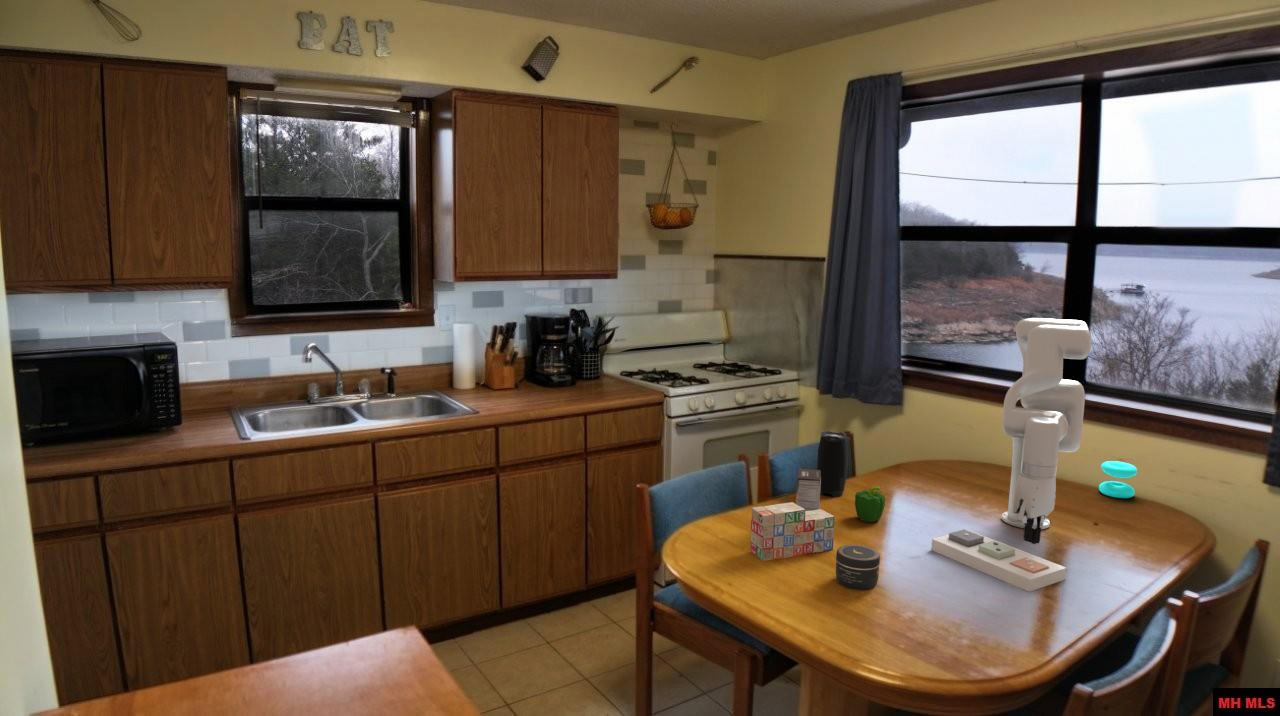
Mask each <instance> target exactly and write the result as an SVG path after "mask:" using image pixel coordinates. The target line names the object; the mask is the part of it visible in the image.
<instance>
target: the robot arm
mask: <svg viewBox="0 0 1280 716" xmlns="http://www.w3.org/2000/svg"><path fill="white" fill-rule="evenodd" d="M1015 336H1016V340H1017V345H1018V348H1019V350H1020V354H1021V357H1022V362H1023V364H1022V375H1021V377H1020V378H1019V379H1017V380H1015V382H1014V383H1013V384H1011V386H1010V387H1009V389H1008V390H1007V392H1006V393H1005V397H1004V400H1003V408H1002V410H1003V411H1002V423H1001V425H1002V430H1003V432H1004V434H1005V435H1006V436H1007V437H1010V438H1012V463H1011V474H1010V484H1009V486H1010V487H1009V494H1008V497H1009V498H1008V506H1007V507H1008V508H1007V509H1008V510H1007V511H1004V512H1003V513H1002V514H1001V520H1002V521H1003V522H1004V523H1006V524H1008V525H1010V526H1013V527H1016V528H1020V529H1023V541H1025V542H1027V543H1030V544H1032V545H1036V544H1037V545H1038V544H1040V542H1041V533H1042V530H1045V529H1048V528H1049V527H1050V526H1051V521H1050V520H1049V519H1048V518H1047V517H1048V516H1049V515H1050V514H1051V513H1052V512H1053V511H1054V509H1055V504H1056V496H1057V495H1056V494H1057V491H1056V490H1057V484H1056V483H1057V481H1056V480H1057V479H1056V477H1057V470H1058V469H1057V468H1058V460H1059V459H1058V457H1059V453H1075V452H1077V451H1078V450H1079V448H1080V446H1081V444H1082V443H1081V441H1082V435H1083V425H1084V424H1083V422H1084V413H1085V401H1086V399H1085V396H1086V395H1085V394H1086V393H1085V389H1084V386H1083V385H1082V383H1081V382H1079V381H1078V380H1072V379H1064V378H1063V373H1064V371H1063V370H1064V359H1069V360H1085V359H1087V357H1088V356H1089V354H1090V352H1091V347H1092V335H1091V331H1090V329H1089V326H1088V324H1087V323H1086V322H1085V321H1083V320H1078V319H1059V318H1057V319H1056V318H1043V317H1040V318H1039V317H1031V318H1030V317H1029V318H1023V319H1021V320H1019V321H1018V322H1017V323H1016V327H1015ZM1019 400H1020V403H1021V406H1022V407H1017V406H1016V404H1017V402H1018V401H1019Z"/></svg>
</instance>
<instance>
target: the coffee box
mask: <svg viewBox="0 0 1280 716" xmlns="http://www.w3.org/2000/svg"><path fill="white" fill-rule="evenodd" d="M796 475H797V477H796V478H797V479H796V494H795V497H796V498H795V504H796V505H798V506H800V507H802V508H804V509H805V511H811V510H819V509H820V502H821V499H820V498H821V494H820V486H821V471H820V470H817V469H808V468H807V469H806V468H805V469H804V468H797V474H796Z"/></svg>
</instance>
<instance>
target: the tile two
mask: <svg viewBox="0 0 1280 716" xmlns="http://www.w3.org/2000/svg"><path fill="white" fill-rule="evenodd" d="M996 541H997V540H996ZM996 541H992V542H988V543H985V544H981V545H979V549H978V551H979V552H981V553H984V554H986V555H989V556H991V557H994V558H996V559H999V560H1001V559H1005V558H1008V557H1011V556H1015V549H1014V548H1015V547H1014V548H1011V547H1012V546H1011V547H1009V546H1010V545H1009V546H1006V545H1007V544H1006V545H1004V544H1005V543H1003V544H1001V543H1002V542H1001V543H998V542H999V541H998V542H996Z"/></svg>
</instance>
